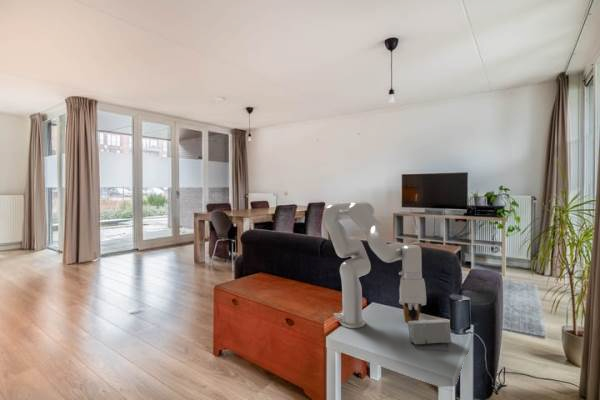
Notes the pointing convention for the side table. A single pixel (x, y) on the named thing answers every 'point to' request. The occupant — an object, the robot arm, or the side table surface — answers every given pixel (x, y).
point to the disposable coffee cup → (406, 314)
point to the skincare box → (429, 331)
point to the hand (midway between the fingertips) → (412, 318)
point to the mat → (432, 346)
